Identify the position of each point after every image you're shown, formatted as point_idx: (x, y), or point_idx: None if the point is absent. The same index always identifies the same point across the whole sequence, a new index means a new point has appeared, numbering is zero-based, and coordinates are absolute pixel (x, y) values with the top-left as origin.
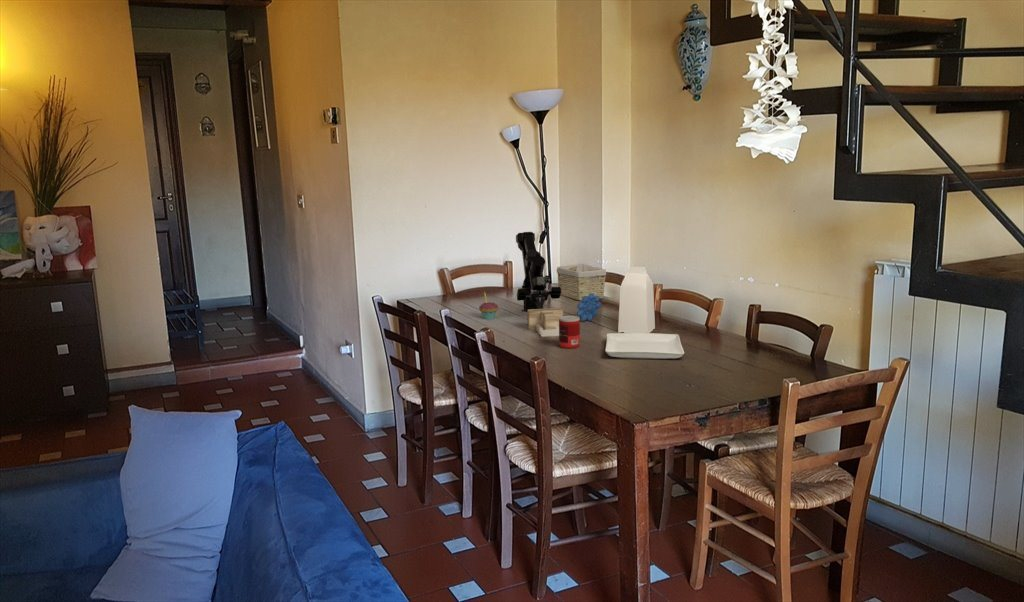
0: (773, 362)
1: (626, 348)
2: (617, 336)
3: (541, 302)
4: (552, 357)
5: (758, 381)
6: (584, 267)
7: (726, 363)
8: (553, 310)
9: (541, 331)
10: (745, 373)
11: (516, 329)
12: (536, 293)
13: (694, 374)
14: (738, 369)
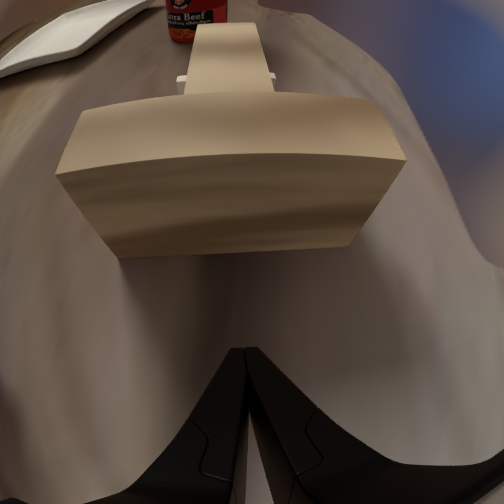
0: (2, 46)
1: (93, 30)
2: (62, 54)
3: (240, 413)
4: (256, 8)
5: (64, 8)
6: None
7: (37, 30)
8: (159, 99)
9: (273, 75)
10: (52, 16)
11: (407, 236)
12: (436, 501)
13: (96, 2)
14: (46, 21)
